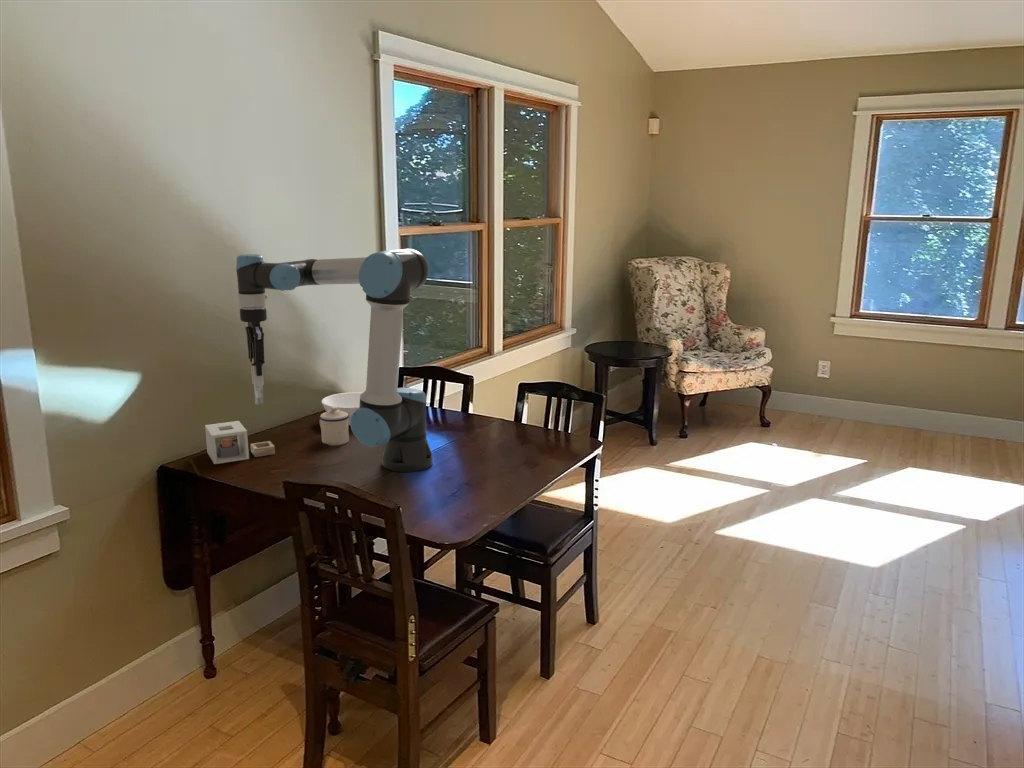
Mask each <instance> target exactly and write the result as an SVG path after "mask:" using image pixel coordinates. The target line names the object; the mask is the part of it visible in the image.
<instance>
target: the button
mask: <svg viewBox="0 0 1024 768" xmlns="http://www.w3.org/2000/svg"><path fill="white" fill-rule="evenodd" d="M232 441H233V438H230V437H228V438H223V439H221V443H222V448H224V447H231V446H232Z"/></svg>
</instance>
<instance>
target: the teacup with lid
mask: <svg viewBox="0 0 1024 768" xmlns="http://www.w3.org/2000/svg"><path fill="white" fill-rule="evenodd" d="M348 417H349V416H348V414H347V413H346V412H343V411H340V410H337V407H331V410H329V411H325V412H323V413H321V414H320V416H319V426H320V431H321V442H322V443H323V444H327V445H328V446H334V447H335V446H342V445H345V444H347V443H349V441H350V433H349V425H348Z"/></svg>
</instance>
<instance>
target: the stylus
mask: <svg viewBox="0 0 1024 768" xmlns="http://www.w3.org/2000/svg"><path fill="white" fill-rule="evenodd" d="M251 363H252V364H253V363H254V359H253V358H252V362H251ZM253 379H254V372H253ZM253 389H254V390H253V391H254V403H255V405H263V404H264V389H263V386H256V387H255V386H254V385H253Z"/></svg>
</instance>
